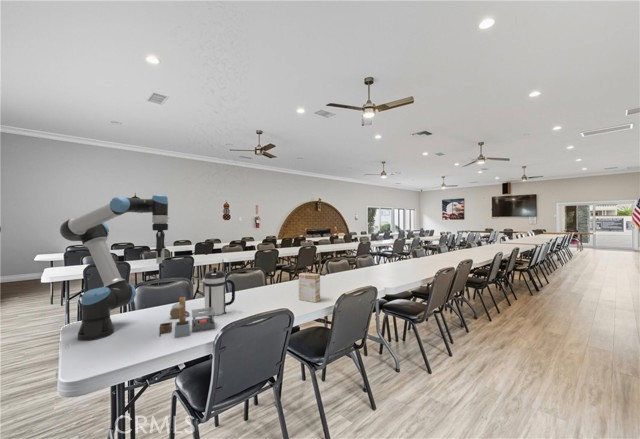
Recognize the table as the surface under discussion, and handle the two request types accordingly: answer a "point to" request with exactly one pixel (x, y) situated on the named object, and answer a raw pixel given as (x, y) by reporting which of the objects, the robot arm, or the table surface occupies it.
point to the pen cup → (182, 329)
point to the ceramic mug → (176, 311)
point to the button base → (210, 321)
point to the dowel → (182, 311)
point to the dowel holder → (165, 328)
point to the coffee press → (216, 291)
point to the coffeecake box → (309, 287)
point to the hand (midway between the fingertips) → (160, 261)
